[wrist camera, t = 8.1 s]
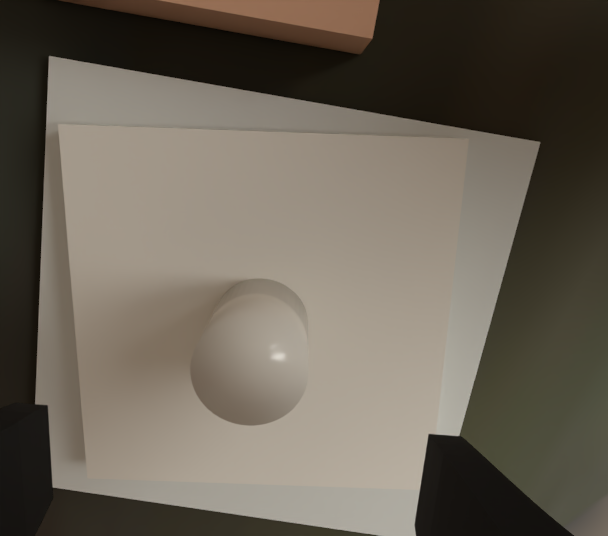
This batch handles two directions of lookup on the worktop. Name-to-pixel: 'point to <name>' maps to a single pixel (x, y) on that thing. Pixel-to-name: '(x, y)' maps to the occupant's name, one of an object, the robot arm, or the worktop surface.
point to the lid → (260, 301)
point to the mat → (265, 117)
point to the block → (267, 18)
